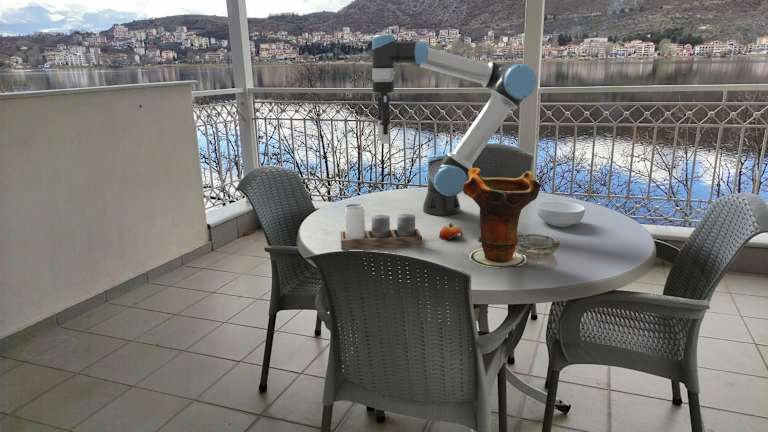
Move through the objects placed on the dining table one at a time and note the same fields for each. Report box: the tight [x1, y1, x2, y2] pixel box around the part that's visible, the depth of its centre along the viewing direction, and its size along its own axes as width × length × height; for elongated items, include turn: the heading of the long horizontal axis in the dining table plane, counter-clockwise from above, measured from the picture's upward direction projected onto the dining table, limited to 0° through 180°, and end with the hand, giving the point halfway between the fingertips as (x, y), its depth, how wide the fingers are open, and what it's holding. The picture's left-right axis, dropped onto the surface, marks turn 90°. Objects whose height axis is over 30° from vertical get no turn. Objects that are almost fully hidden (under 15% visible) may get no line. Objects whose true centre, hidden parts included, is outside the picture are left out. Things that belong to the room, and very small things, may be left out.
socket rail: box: [340, 213, 423, 250], centre depth 176 cm, size 27×9×9 cm, turn 96°
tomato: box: [439, 222, 464, 242], centre depth 182 cm, size 8×7×7 cm
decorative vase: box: [462, 167, 542, 269], centre depth 160 cm, size 21×23×28 cm
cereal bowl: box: [536, 200, 586, 228], centre depth 197 cm, size 17×17×7 cm
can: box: [344, 203, 366, 239], centre depth 175 cm, size 6×6×12 cm
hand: (383, 140), depth 193 cm, fingers open, 13 cm apart
